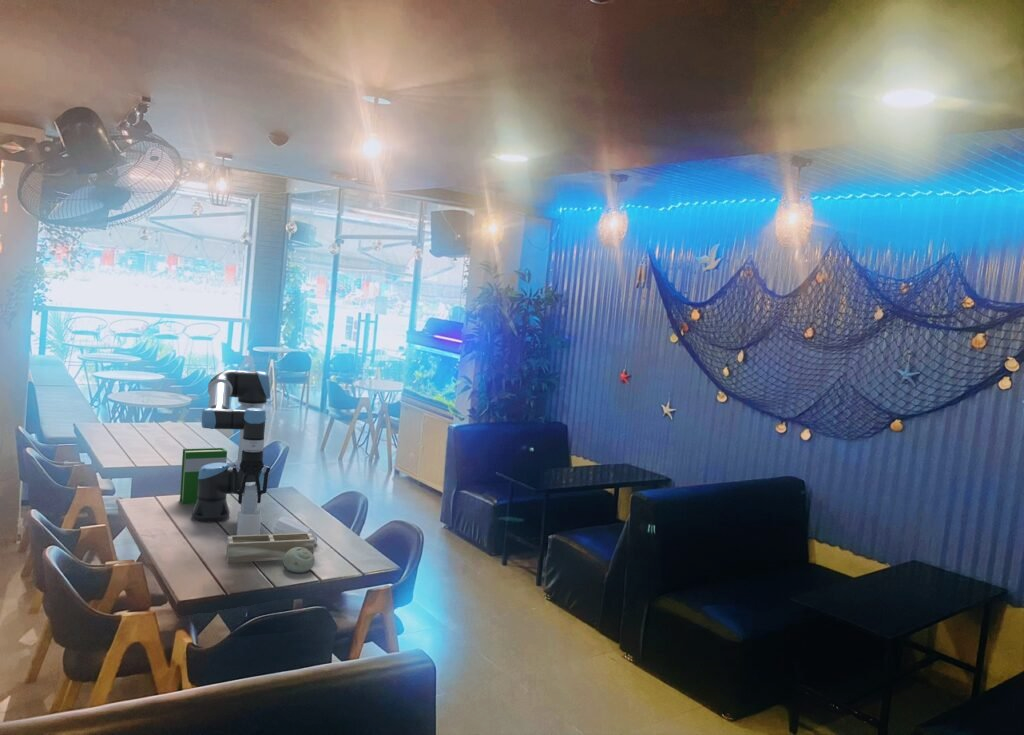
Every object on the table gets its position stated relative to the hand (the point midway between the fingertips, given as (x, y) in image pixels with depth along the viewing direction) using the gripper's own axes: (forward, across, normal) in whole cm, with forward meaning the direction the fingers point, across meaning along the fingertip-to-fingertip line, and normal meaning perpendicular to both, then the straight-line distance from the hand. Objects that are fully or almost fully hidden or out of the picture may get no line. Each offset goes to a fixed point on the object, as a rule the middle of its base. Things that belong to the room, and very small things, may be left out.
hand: (248, 511), depth 271 cm
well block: (+17, +9, 0) cm, 19 cm away
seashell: (+18, +17, -14) cm, 29 cm away
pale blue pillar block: (0, 0, 0) cm, 0 cm away
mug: (+17, +2, +22) cm, 28 cm away
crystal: (+18, +20, +19) cm, 32 cm away
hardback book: (+17, -15, +76) cm, 80 cm away
